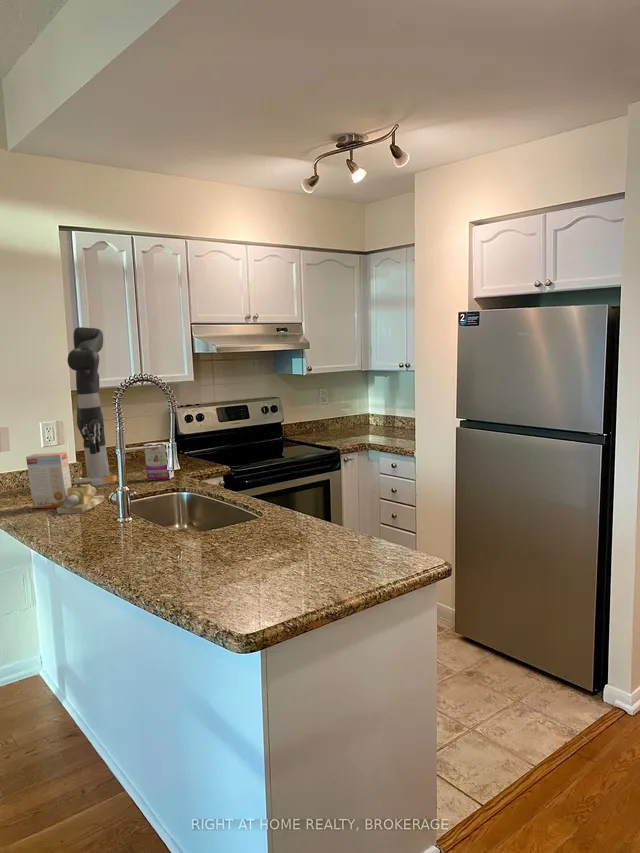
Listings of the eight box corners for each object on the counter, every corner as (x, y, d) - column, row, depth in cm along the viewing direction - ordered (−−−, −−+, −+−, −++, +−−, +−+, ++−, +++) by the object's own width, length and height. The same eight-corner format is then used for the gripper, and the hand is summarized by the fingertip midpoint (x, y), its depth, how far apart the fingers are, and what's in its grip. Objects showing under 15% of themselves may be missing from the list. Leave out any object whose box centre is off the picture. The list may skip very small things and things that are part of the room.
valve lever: (73, 484, 239) (72, 478, 238) (77, 482, 242) (76, 476, 241) (113, 482, 236) (112, 476, 236) (117, 480, 239) (116, 475, 239)
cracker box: (74, 503, 248) (67, 451, 245) (67, 507, 242) (60, 454, 239) (41, 505, 249) (33, 453, 246) (32, 509, 243) (25, 456, 240)
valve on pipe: (81, 501, 250) (78, 479, 249) (104, 500, 249) (101, 478, 248) (57, 513, 234) (54, 490, 232) (82, 512, 232) (79, 489, 231)
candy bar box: (174, 477, 283) (171, 441, 281) (169, 480, 278) (165, 443, 276) (152, 477, 286) (148, 442, 284) (147, 480, 281) (142, 444, 279)
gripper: (89, 407, 219) (95, 456, 221) (108, 403, 232) (113, 449, 235) (69, 408, 220) (75, 457, 222) (89, 404, 233) (95, 450, 236)
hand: (95, 453), depth 228 cm, fingers closed
